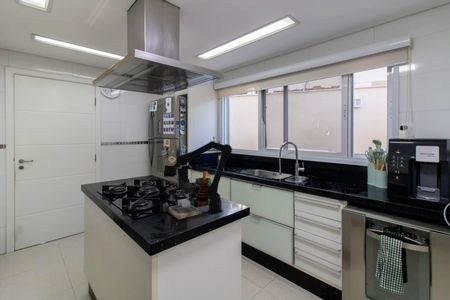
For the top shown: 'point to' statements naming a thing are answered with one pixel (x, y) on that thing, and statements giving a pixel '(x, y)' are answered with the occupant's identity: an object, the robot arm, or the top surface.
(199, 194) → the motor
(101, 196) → the top surface
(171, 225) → the top surface
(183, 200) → the block
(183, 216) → the chassis
